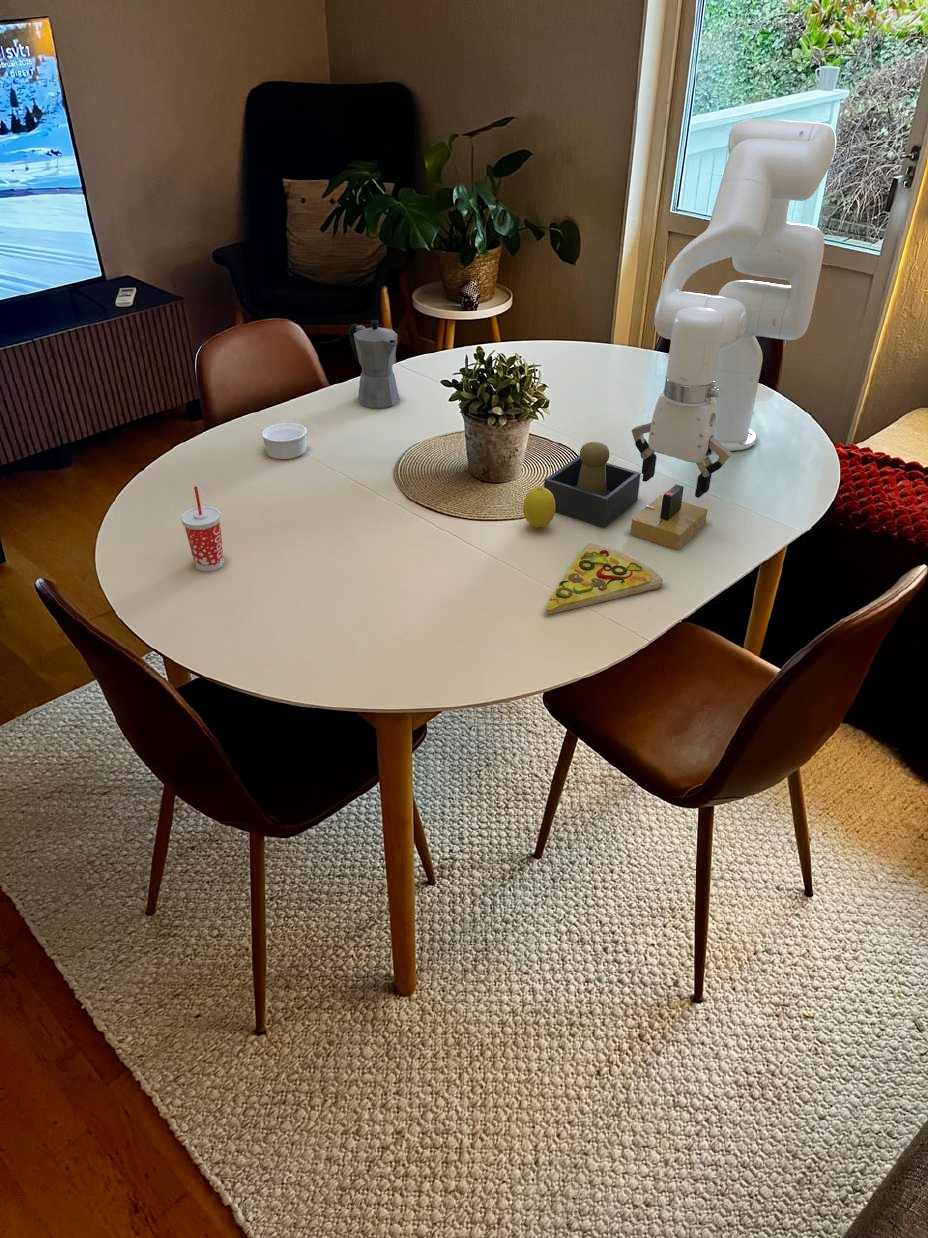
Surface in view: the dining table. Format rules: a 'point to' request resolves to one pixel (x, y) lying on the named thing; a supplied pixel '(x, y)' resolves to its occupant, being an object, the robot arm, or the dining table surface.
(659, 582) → the pizza slice
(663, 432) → the robot arm
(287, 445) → the ramekin
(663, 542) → the block
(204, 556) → the beverage cup
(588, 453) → the cork
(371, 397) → the coffeepot
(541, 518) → the lemon
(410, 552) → the dining table surface
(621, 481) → the sink basin
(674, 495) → the tap handle
